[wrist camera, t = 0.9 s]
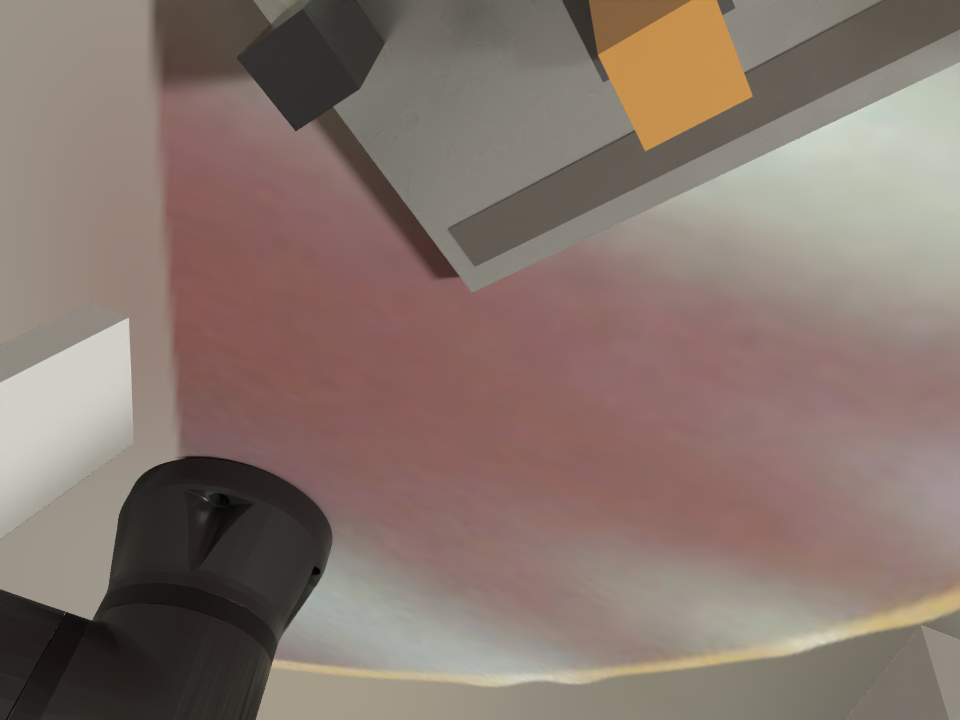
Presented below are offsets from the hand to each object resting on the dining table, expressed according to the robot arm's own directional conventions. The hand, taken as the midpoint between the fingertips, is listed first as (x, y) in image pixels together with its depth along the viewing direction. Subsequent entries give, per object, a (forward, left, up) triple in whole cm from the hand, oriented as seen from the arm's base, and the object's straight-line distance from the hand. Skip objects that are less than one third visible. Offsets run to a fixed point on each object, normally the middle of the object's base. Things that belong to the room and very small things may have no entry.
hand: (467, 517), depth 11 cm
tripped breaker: (+5, 0, -22) cm, 23 cm away
